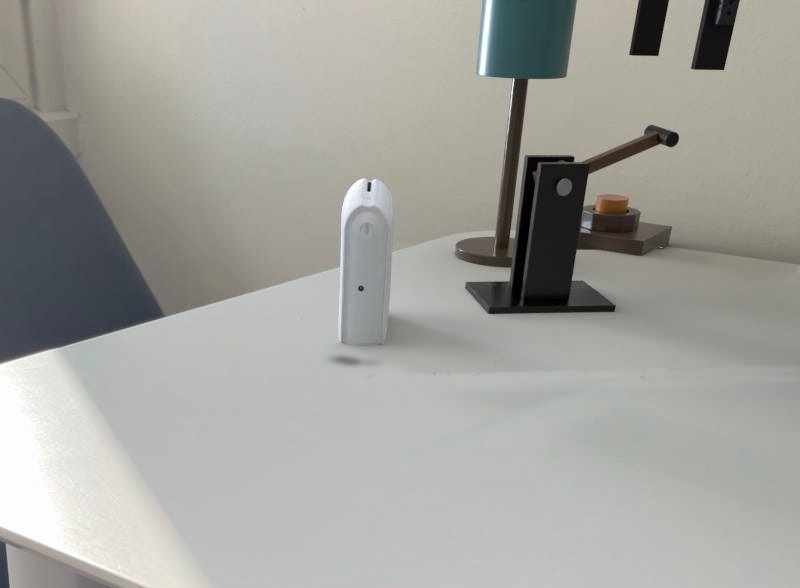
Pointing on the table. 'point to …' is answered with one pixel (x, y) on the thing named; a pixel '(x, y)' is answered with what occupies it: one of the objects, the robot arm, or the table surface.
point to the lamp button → (612, 204)
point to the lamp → (517, 93)
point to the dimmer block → (620, 232)
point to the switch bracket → (545, 245)
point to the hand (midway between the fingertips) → (673, 62)
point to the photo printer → (365, 263)
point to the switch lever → (631, 148)
